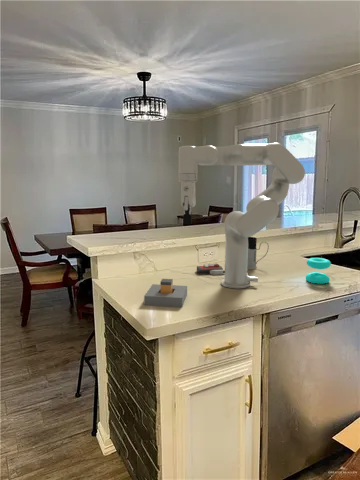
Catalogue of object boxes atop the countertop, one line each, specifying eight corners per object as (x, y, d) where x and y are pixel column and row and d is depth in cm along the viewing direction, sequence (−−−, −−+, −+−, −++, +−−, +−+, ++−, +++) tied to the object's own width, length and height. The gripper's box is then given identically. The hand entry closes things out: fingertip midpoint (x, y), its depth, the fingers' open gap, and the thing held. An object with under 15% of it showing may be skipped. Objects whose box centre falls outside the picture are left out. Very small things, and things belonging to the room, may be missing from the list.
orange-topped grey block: (172, 296, 142) (172, 279, 140) (171, 300, 138) (171, 282, 137) (162, 296, 142) (162, 278, 141) (160, 299, 138) (160, 281, 137)
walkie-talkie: (198, 276, 171) (239, 274, 175) (198, 267, 171) (239, 265, 174) (194, 271, 180) (233, 269, 184) (194, 262, 179) (233, 261, 183)
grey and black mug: (240, 264, 193) (241, 236, 190) (268, 266, 188) (269, 237, 185) (237, 268, 185) (238, 239, 182) (266, 270, 180) (268, 240, 177)
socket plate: (187, 294, 146) (187, 285, 145) (182, 307, 132) (182, 297, 132) (152, 292, 148) (152, 284, 147) (144, 305, 134) (144, 295, 134)
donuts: (302, 258, 163) (317, 256, 168) (300, 280, 165) (315, 277, 170) (320, 263, 155) (336, 260, 160) (319, 286, 156) (334, 282, 162)
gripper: (195, 178, 137) (194, 227, 141) (199, 177, 152) (198, 221, 155) (175, 178, 138) (175, 226, 142) (181, 177, 153) (181, 221, 156)
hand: (187, 223), depth 149 cm, fingers closed
